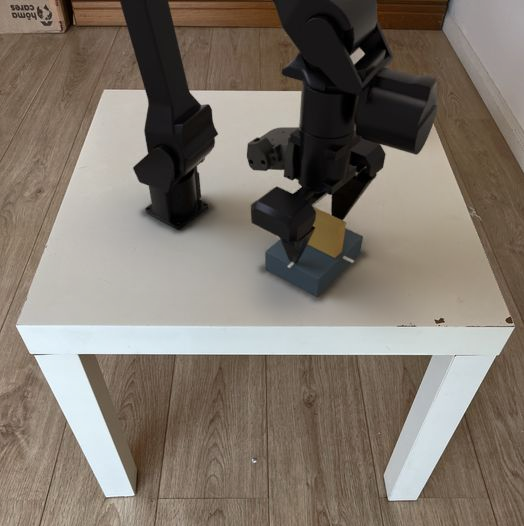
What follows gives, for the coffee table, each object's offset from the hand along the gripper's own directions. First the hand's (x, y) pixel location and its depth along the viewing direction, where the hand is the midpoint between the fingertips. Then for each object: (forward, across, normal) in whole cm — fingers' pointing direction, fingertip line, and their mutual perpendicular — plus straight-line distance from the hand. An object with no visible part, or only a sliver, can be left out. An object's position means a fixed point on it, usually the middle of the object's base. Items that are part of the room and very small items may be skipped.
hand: (315, 242), depth 72 cm
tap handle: (0, 0, 0) cm, 0 cm away
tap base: (+3, 0, 0) cm, 3 cm away
